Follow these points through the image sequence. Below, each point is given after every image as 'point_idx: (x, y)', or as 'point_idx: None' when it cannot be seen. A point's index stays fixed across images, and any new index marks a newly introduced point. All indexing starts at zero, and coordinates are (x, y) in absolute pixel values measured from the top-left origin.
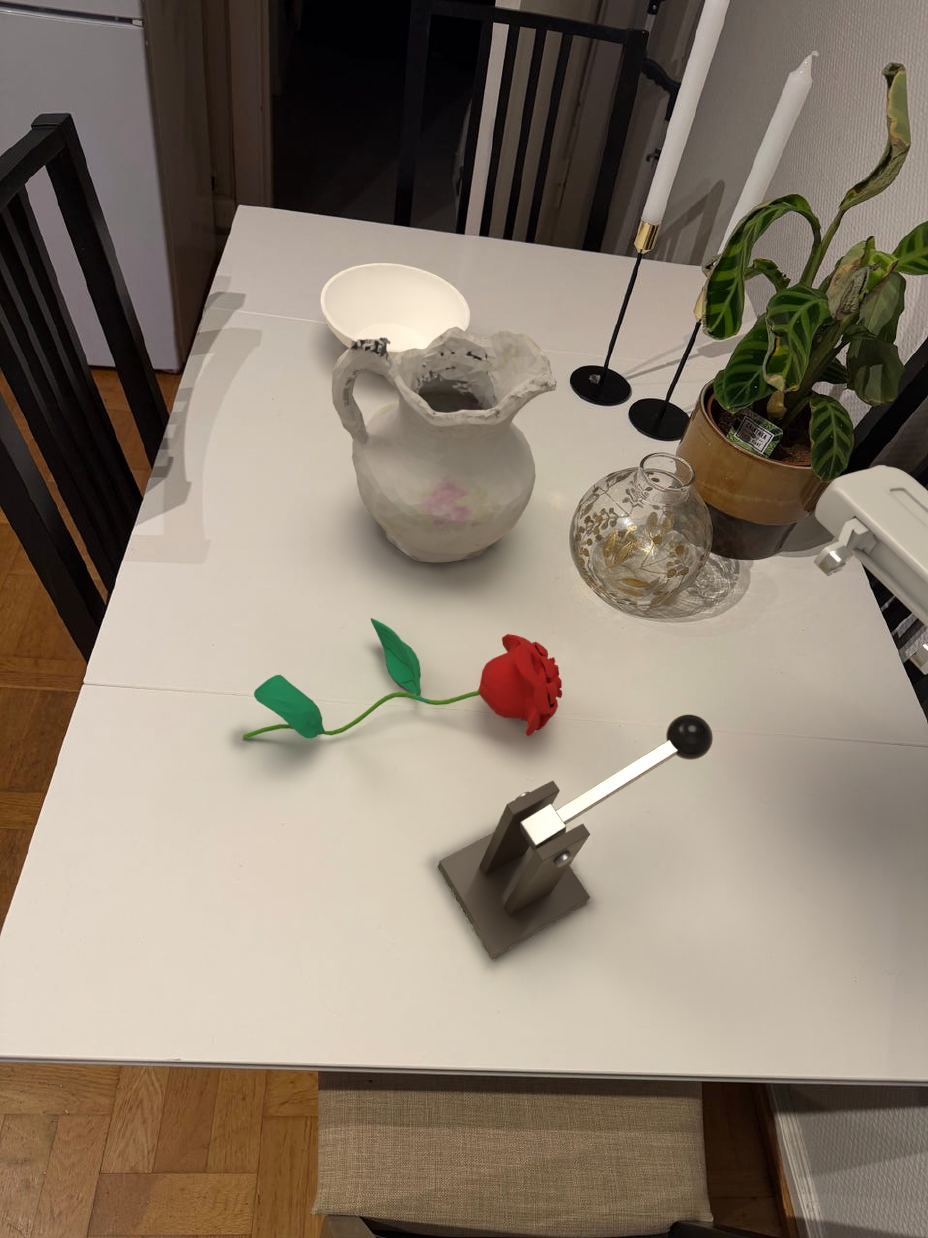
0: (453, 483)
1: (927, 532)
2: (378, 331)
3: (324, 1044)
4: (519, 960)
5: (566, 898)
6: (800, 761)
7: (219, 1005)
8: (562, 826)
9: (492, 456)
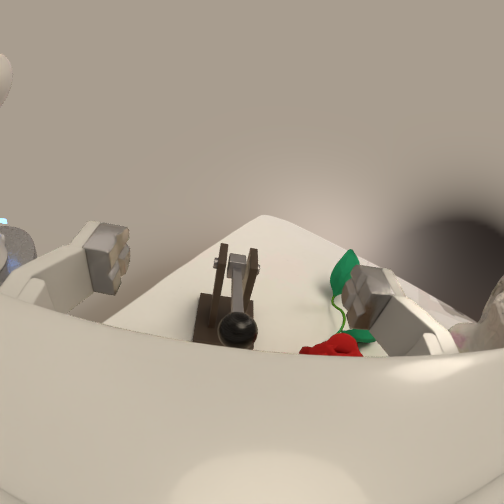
0: (465, 340)
1: (417, 494)
2: None
3: (214, 248)
4: (191, 305)
5: (200, 330)
6: None
7: (244, 238)
8: (231, 260)
9: None
